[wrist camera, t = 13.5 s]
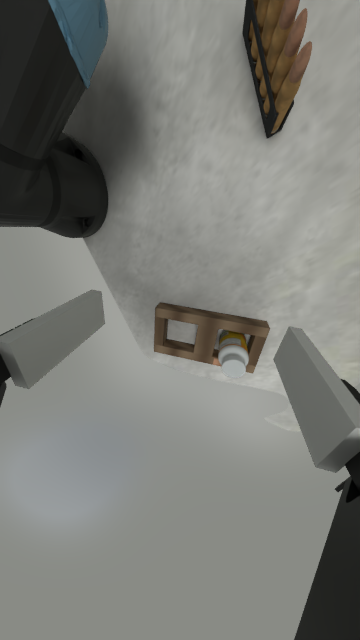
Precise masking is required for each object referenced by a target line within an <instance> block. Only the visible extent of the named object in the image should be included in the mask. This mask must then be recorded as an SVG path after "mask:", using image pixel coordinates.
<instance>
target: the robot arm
mask: <svg viewBox="0 0 360 640" xmlns="http://www.w3.org/2000/svg"><path fill="white" fill-rule="evenodd" d="M107 37H108V16H107V9H106V4H105V0H0V227H1V226H2V227H41V228H44V229H46V230H49V231H51V232H54V233H57V234H59V235H62V236H65V237H70V238H82V237H87V236H90V235H92V234H94V233H95V232H96V231H97V230H98V229H99V228H100V227H101V225H102V223H103V221H104V219H105V216H106V212H107V206H108V195H107V187H106V183H105V179H104V176H103V173H102V171H101V169H100V167H99V165H98V163H97V161H96V160H95V158H94V157H93V155H92V154H91V153H90V152H89V150H88V149H87V148H86V147H85V146H83V145H82V144H81V143H80V142H78V141H77V140H75V139H73V138H72V137H70V136H68V135H66V134H64V133H62V130H63V128H64V126H65V124H66V122H67V121H68V119H69V117H70V115H71V113H72V111H73V110H74V108H75V106H76V104H77V103H78V101H79V99H80V97H81V95H82V94H83V92H84V90H85V88H87V89H88V88H89V86H90V78H91V76H92V74H93V71H94V69H95V67H96V65H97V62H98V60H99V58H100V56H101V54H102V51H103V49H104V47H105V45H106V42H107ZM104 324H105V320H104V311H103V302H102V293H101V291H96V290H90V291H88V292H86V293H84V294H82V295H81V296H78V297H76V298H75V299H73V300H71V301H69V302H67V303H65V304H63V305H61V306H59V307H57V308H55V309H53V310H51V311H49V312H47V313H45V314H43V315H41V316H39V317H37V318H34V319H31V320H29V321H27V322H25V323H23V325H19V326H18V327H15V329H11V330H9V331H7V332H5V333H3V334H1V335H0V406H1V403H2V400H3V396H4V393H5V390H6V383H5V380H7V379H8V378H10V377H11V378H12V380H13V382H14V384H15V385H16V386H19V387H23V388H27V389H29V388H31V387H32V386H33V385H34V384H35V383H36V382H38V381H39V380H40V379H41V378H42V377H43V376H44V375H46V374H47V373H48V372H49V371H50V370H51V369H53V368H54V367H55V366H56V365H57V364H59V363H60V362H61V361H62V360H63V359H64V358H65V357H67V356H68V355H69V354H70V353H71V352H73V351H74V350H75V349H76V348H77V347H78V346H80V345H81V344H82V343H83V342H84V341H85V340H87V339H88V338H89V337H90V336H91V335H92V334H93V333H95V332H96V331H97V330H98V329H99V328H100V327H102V326H103V325H104ZM274 362H275V364H276V367H277V369H278V372H279V374H280V377H281V380H282V382H283V385H284V387H285V390H286V393H287V395H288V398H289V400H290V403H291V405H292V408H293V411H294V413H295V416H296V418H297V421H298V423H299V426H300V429H301V431H302V433H303V436H304V439H305V441H306V444H307V447H308V449H309V452H310V454H311V457H312V459H313V462H314V465H315V467H317V468H321V469H324V470H328V471H332V472H335V473H336V472H337V471H339V470H340V469H341V468H342V467H344V466H346V468H347V470H348V472H349V474H350V475H351V476H350V477H349V478H348V479H346V480H345V481H344V482H342V483H341V484H340V485H338V486H337V487H336V488H335V490H336V491H337V492H339V491H340V490H342V489H343V491H342V494H341V497H340V500H339V503H338V506H337V509H336V512H335V516H334V519H333V522H332V525H331V528H330V531H329V534H328V537H327V540H326V543H325V546H324V549H323V553H322V556H321V559H320V562H319V565H318V568H317V571H316V574H315V577H314V581H313V583H312V586H311V590H310V593H309V596H308V599H307V602H306V605H305V608H304V611H303V614H302V617H301V621H300V623H299V627H298V630H297V633H296V636H295V639H294V640H360V393H359V392H358V391H357V390H356V389H355V388H354V387H353V386H351V385H350V384H349V383H348V382H347V381H345V380H342V379H340V378H339V377H338V376H337V374H336V373H335V372H334V370H333V369H332V368H331V366H330V365H329V364H328V363H327V361H326V360H325V359H324V357H323V356H322V355H321V353H320V352H319V351H318V350H317V348H316V347H315V346H314V344H313V343H312V342H311V340H310V339H309V338H308V336H307V335H306V334H305V333H304V331H303V330H302V329H300V328H294V327H289V328H288V330H287V332H286V334H285V336H284V338H283V340H282V342H281V344H280V346H279V349H278V351H277V353H276V355H275V357H274Z"/></svg>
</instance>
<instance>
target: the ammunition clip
mask: <svg viewBox="0 0 360 640" xmlns="http://www.w3.org/2000/svg"><path fill="white" fill-rule="evenodd" d="M299 2H300V0H246V7H245V16H244V25H243V37H244V41H245V46H246V50H247V54H248V59H249V63H250V67H251V72H252V76H253V80H254V85H255V89H256V94H257V98H258V102H259V107H260V111H261V115H262V120H263V124H264V128H265V133H266V137H267V138H269V137H271V136H272V135H274V134H275V133H277V132H278V131H280V130H281V129H282V127H283V125H284V123H285V121H286V119H287V117H288V115H289V113H290V111H291V109H292V107H293V105H294V100H293V99H294V97H295V95H296V93H297V91H298V89H299V86H300V83H301V79H302V77H303V74H304V72H305V70H306V67H307V65H308V62H309V59H310V55H311V50H312V42H311V41H310V42H308V43H307V44H306V45H305V46H304V47H303V48H302V49H301V51H300V52H299V54H298V55H297V53H298V50H299V47H300V44H301V41H302V38H303V35H304V32H305V28H306V23H307V9H306V8H305V9H303V10H302V12H301V13H300V14H299V16H298V17H297V19H296V21H295V16H296V13H297V9H298V6H299ZM294 21H295V22H294Z"/></svg>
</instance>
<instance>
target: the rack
mask: <svg viewBox="0 0 360 640" xmlns="http://www.w3.org/2000/svg"><path fill="white" fill-rule="evenodd" d="M168 319H171V320H176V321H181V322H186V323H192V324H197V325H198V329H197V335H196V341H195V345H193V344H188V343H183V342H178V341H174V340H169V339H167V325H168ZM218 329H223V330H228V331H234V332H239V333H244V334H249V335H251V337H250V340H249V343H248V346H247V349H248V356H249V361H248V364H247V365H246V372H249V373H253V372H254V369H255V367H256V364H257V362H258V359H259V356H260V354H261V351H262V348H263V346H264V343H265V341H266V338H267V335H268V333H269V330H270V327H269V325H268V323H267V321H262V320H256V319H251V318H245V317H239V316H234V315H228V314H222V313H217V312H211V311H206V310H200V309H194V308H189V307H183V306H177V305H172V304H166V303H161V302H160V303H159V304H158V305H157V306H156V308H155V334H154V352H159V353H163V354H168V355H172V356H177V357H181V358H186V359H190V360H195V361H199V362H204V363H208V364H213V365H217V366H222V365H221V364H220V362H219V359H218V353H219V350H217V349H214V346H215V341H216V337H217V332H218Z"/></svg>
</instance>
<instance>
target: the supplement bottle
mask: <svg viewBox="0 0 360 640" xmlns="http://www.w3.org/2000/svg"><path fill="white" fill-rule="evenodd" d="M218 359H219V362H220V364H221V365H222V372H223V373H224V374H225V375H226V376H228V377H230V378H239V377H241V376H243V375H244V374H245V372H246V365H247V364H248V361H249V356H248V349H247V343H246V338H245V335H244V334H243V333H239V332H234V331H228V330H225V331H224V332H223V333H222V334H221V336H220V340H219V353H218Z"/></svg>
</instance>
